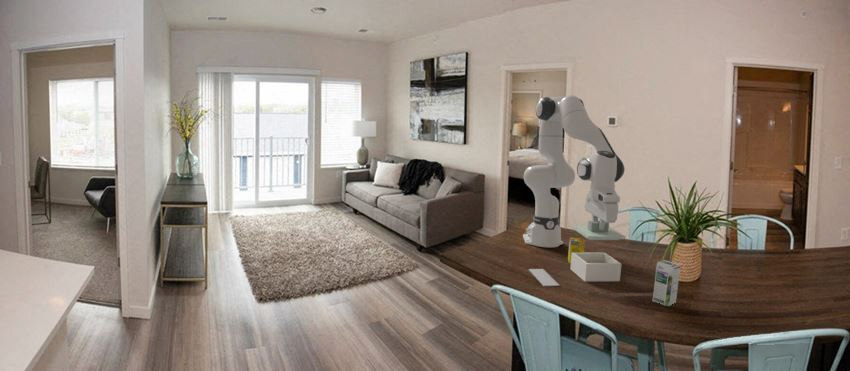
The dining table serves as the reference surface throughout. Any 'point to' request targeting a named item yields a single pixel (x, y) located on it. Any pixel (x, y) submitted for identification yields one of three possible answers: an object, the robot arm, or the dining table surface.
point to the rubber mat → (544, 277)
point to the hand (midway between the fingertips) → (598, 227)
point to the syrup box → (666, 282)
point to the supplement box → (575, 247)
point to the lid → (598, 231)
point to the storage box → (595, 267)
